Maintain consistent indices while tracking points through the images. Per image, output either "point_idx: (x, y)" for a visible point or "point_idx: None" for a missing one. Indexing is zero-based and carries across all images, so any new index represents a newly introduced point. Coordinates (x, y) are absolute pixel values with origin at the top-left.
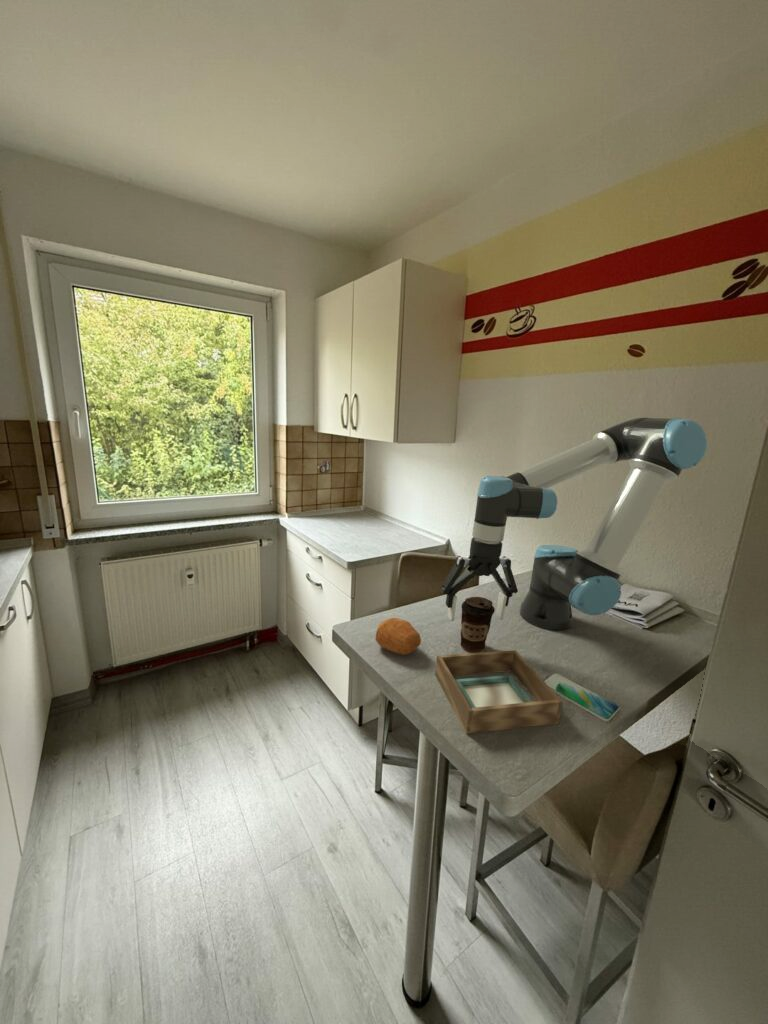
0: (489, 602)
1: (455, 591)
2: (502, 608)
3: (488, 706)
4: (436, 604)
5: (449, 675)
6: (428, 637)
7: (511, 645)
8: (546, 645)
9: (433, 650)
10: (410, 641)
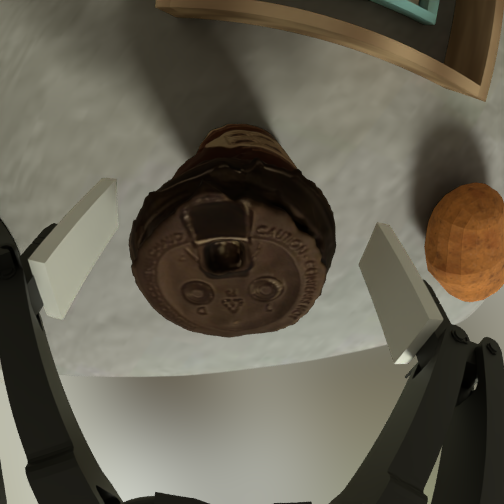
0: (153, 265)
1: (453, 353)
2: (85, 211)
3: None
4: (221, 360)
5: (501, 10)
6: (348, 246)
7: (98, 141)
8: (8, 130)
9: (380, 185)
10: (495, 200)
